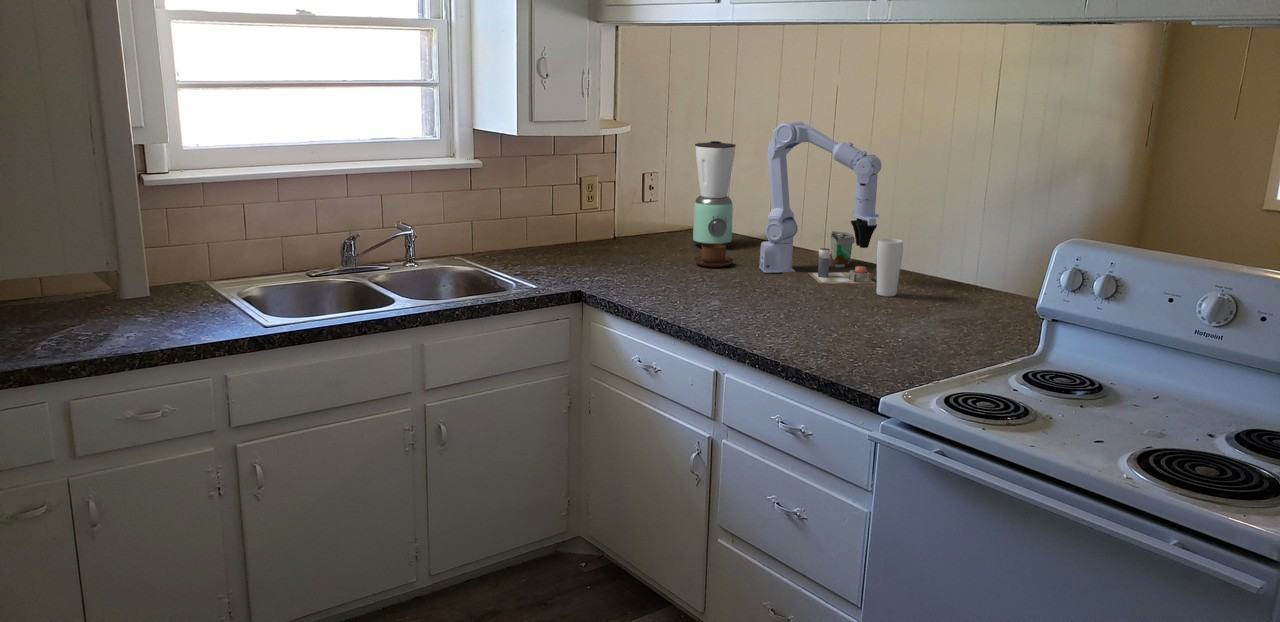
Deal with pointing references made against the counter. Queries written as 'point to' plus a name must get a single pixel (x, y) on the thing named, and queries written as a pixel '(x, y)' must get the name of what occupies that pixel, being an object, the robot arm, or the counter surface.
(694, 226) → the mint green blender
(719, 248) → the cup and saucer
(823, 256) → the cylinder
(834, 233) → the food container
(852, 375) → the counter surface
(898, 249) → the drinking glass
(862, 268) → the button
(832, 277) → the control panel
